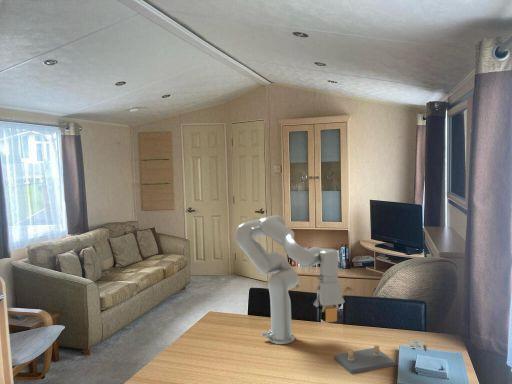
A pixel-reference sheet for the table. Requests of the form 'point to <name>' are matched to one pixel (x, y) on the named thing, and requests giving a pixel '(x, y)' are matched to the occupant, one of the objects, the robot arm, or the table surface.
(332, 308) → the orange block
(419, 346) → the adjustable wrench
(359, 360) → the terminal board
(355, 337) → the table surface
